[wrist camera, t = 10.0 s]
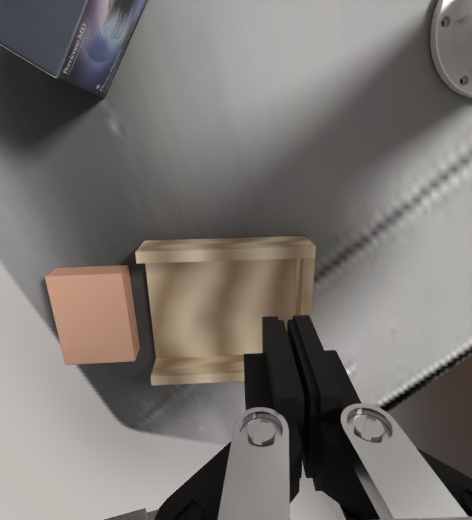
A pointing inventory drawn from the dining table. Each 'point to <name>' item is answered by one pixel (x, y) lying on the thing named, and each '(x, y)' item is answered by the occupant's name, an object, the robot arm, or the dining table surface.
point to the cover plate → (94, 314)
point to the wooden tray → (221, 300)
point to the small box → (71, 37)
